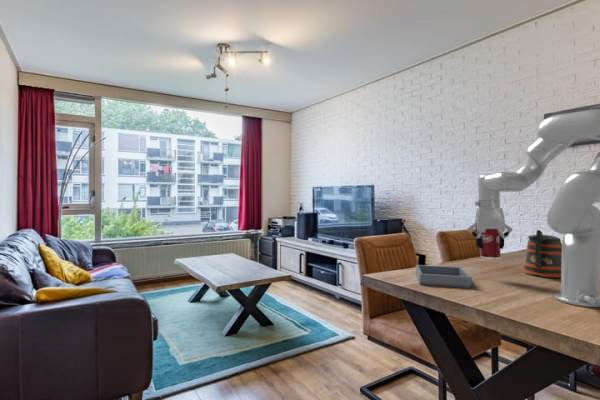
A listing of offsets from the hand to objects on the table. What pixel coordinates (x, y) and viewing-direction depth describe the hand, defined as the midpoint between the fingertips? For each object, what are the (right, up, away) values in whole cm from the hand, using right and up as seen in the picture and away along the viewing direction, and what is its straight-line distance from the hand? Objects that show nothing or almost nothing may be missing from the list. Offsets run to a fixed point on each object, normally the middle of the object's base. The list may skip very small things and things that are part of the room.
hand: (490, 247), depth 136 cm
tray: (-21, -13, -2) cm, 25 cm away
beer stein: (+27, -13, +7) cm, 31 cm away
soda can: (0, -4, 0) cm, 4 cm away
